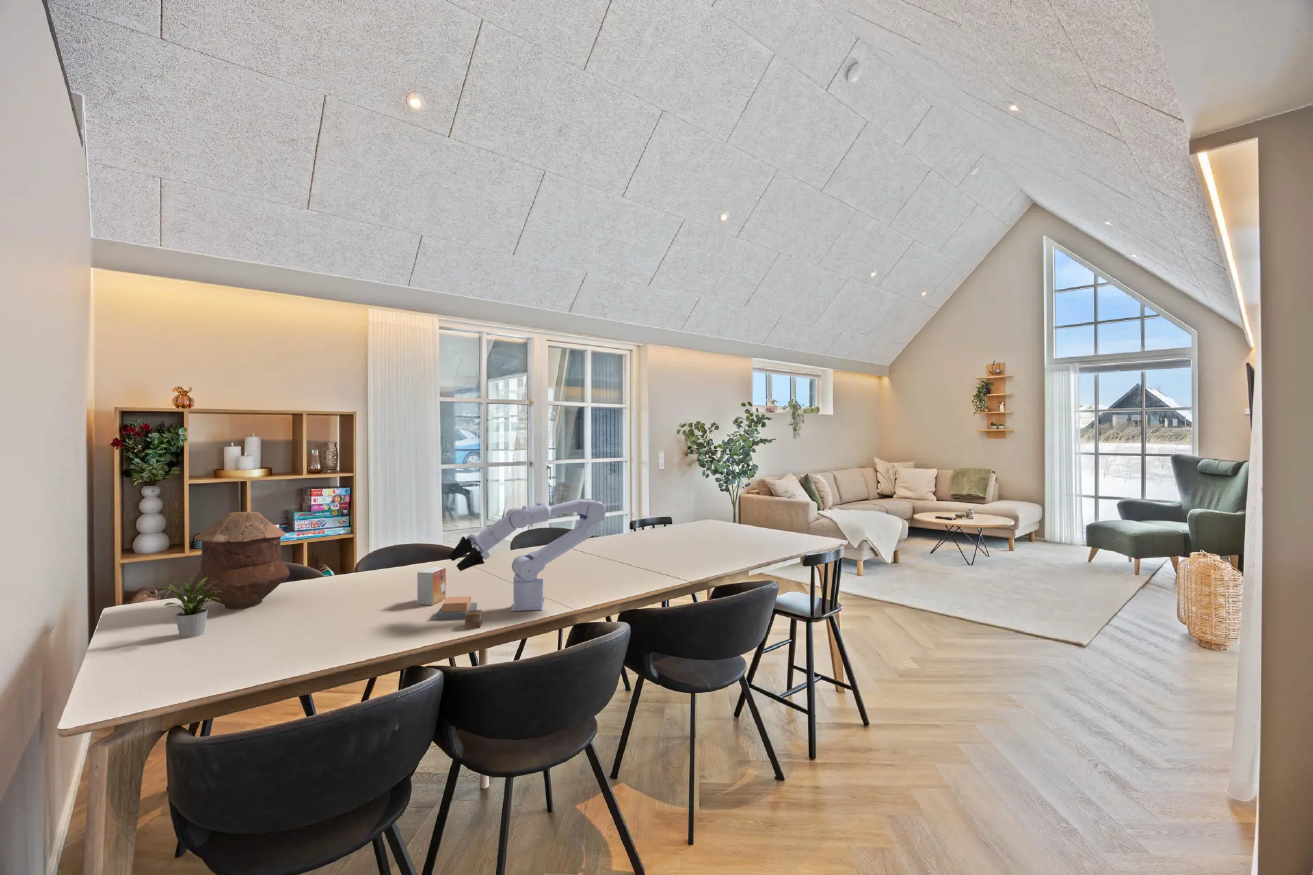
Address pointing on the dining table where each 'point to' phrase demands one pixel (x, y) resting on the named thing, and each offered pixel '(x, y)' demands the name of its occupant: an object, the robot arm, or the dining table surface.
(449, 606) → the terracotta tile
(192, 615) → the house plant
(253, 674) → the dining table surface
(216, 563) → the pottery vessel
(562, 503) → the robot arm
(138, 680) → the dining table surface
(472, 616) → the walnut cube
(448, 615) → the slate tile
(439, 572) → the small box
